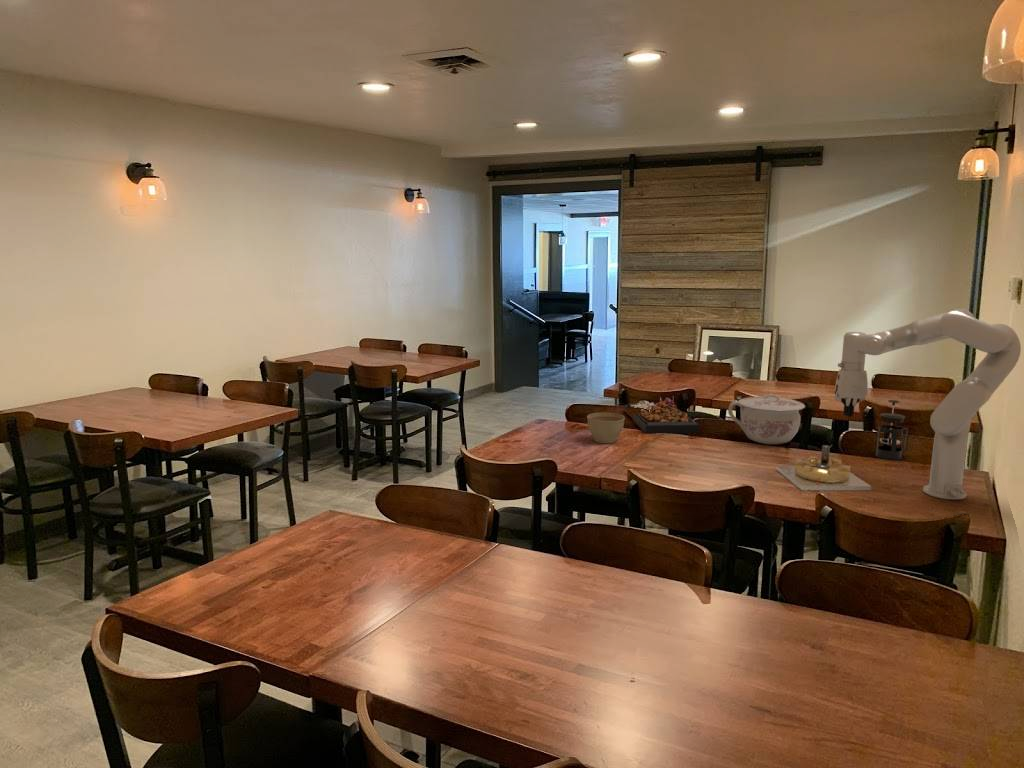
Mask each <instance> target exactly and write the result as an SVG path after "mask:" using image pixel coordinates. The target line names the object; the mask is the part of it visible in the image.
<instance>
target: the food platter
mask: <svg viewBox="0 0 1024 768" xmlns="http://www.w3.org/2000/svg"><path fill="white" fill-rule="evenodd" d="M659 397H660V398H659V402H655V403H654V402H649V401H647V400H639V402H638V403H628V404H624V408H625V407H634V408H644V409H647V410H650V412H648V411H646V410H644V409H641V411H640V414H638V413H636V414H635V413H633V420H632V421H633V422H634V423H635V424H636V426H637V427H638V428H639V429H640V430H641V431H642V432H644V434H645V435H652V434H653V435H655V434H656V433H667V435H668V434H669V435H670V434H700V426H701V425H700V424H699V423H698V422H696V421H695V420H694V419H693V418H691V417H690V416H688V413H687V412H684V411H682V410H680V409H679V408H677V405H676V404H675V403H674V401H675V400H674V398H675V397H674V395H673V396H672V399H670V398H669V397H666V398H664V400H662V397H661V396H659ZM693 421H694V422H693ZM656 435H657V434H656Z"/></svg>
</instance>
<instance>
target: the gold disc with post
mask: <svg viewBox="0 0 1024 768" xmlns="http://www.w3.org/2000/svg"><path fill="white" fill-rule="evenodd" d="M830 449H831V446H830V445H826V444H823V445H821V455H820V456H821V457H820V459H819V457H817V456H813V455H812V456H808V459H798V458H797V459H795V465H794V466H795V473H796V474H797V475H798V476H800V477H802V478H805V479H808V480H812V481H818V482H827V483H837V482H844V481H847V480H848V479H849V474H850V473H851V472H850V471H851V465H845V464H844V463H843V464H842V460H841V459H837V458H834V459H831V460H830V451H831V450H830Z"/></svg>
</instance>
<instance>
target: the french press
mask: <svg viewBox="0 0 1024 768" xmlns="http://www.w3.org/2000/svg"><path fill="white" fill-rule="evenodd" d="M887 402H889V403H892V404H891V405H892V411H891V412H884V413H880V414H879V416H880V418H881V419H883V420H884V421H885V422H887V423H889V424H880V425H878V431H877V432H878V433H877V443H876V452H875V456H876V458H879V459H884V460H890V461H891V460H892V461H893V460H894V461H896V460H897V461H899V460H902V458H903V456H902V451H907V450H908V444H909V443H908V442H909V433H910V429H909V428H908V427H902V426H900V425H899V426H898V425H893V424H902V423H904V422H905V421H904V419H906V416H905V415H904V414H903V415H902V414H899V413H894V409H895V407H894V406H895V405H896V404H898V403H900V401H899V400H896V399H889V400H887ZM905 431H906V432H905ZM881 432H883V438H881ZM904 432H905V440H903V439H904ZM898 434H900V439H898ZM903 441H904V448H903ZM880 444H882V445H880ZM898 446H899V447H898Z"/></svg>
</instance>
